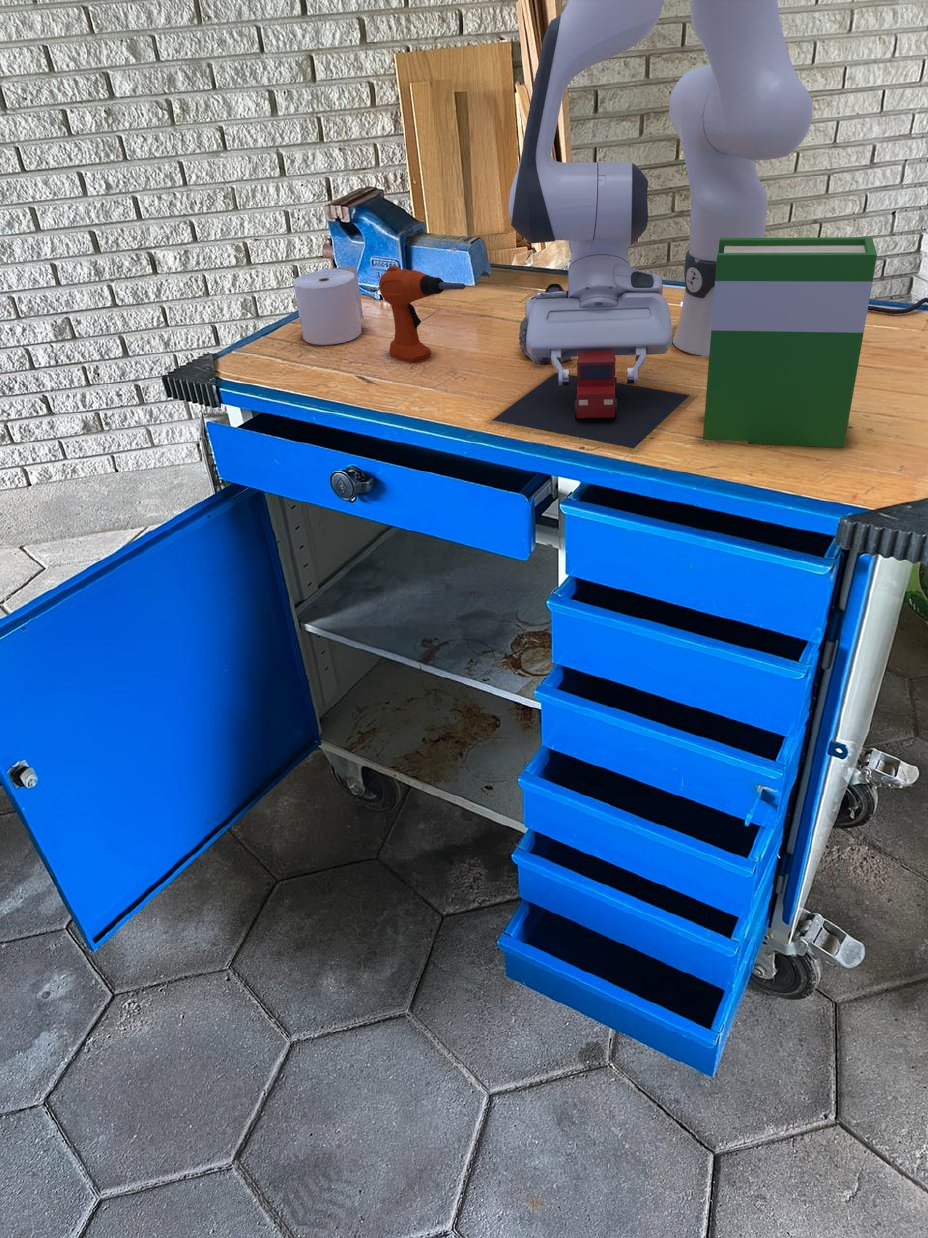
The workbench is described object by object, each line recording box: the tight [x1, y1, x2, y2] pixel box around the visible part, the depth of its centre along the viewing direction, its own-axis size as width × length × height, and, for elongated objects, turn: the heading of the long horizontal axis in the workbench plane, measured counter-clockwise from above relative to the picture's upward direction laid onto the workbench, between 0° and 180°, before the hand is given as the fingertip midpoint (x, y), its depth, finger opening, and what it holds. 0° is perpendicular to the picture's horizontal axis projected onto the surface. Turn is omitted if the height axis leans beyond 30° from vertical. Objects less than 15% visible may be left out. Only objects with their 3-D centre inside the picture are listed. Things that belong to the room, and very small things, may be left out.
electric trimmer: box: [544, 283, 565, 293], centre depth 173 cm, size 4×16×3 cm, turn 172°
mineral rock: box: [518, 316, 572, 366], centre depth 155 cm, size 13×11×10 cm
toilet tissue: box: [292, 265, 364, 346], centre depth 170 cm, size 11×12×10 cm
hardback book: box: [702, 236, 878, 449], centre depth 121 cm, size 18×7×24 cm, turn 75°
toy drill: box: [378, 265, 466, 363], centre depth 154 cm, size 5×19×15 cm, turn 48°
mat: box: [492, 372, 690, 450], centre depth 138 cm, size 19×22×1 cm
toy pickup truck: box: [575, 351, 618, 419], centre depth 136 cm, size 13×6×8 cm, turn 173°
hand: (597, 383), depth 134 cm, fingers open, 8 cm apart
